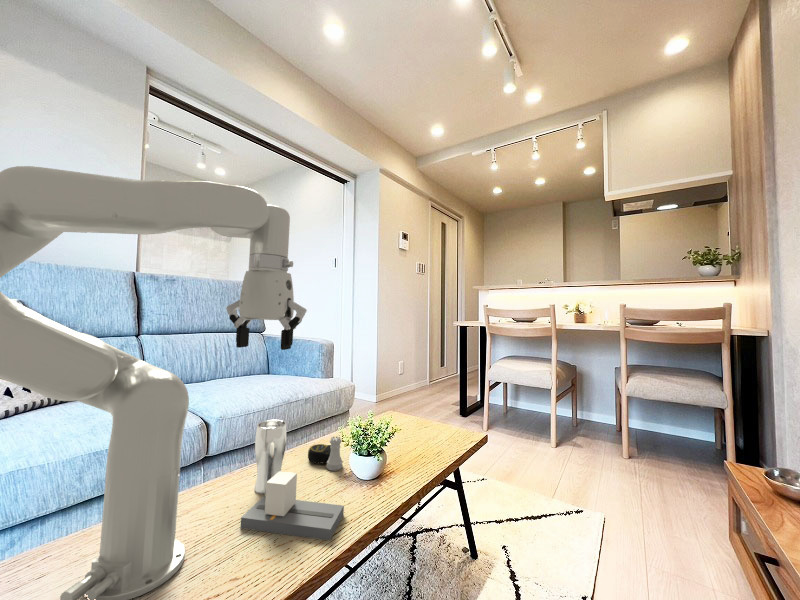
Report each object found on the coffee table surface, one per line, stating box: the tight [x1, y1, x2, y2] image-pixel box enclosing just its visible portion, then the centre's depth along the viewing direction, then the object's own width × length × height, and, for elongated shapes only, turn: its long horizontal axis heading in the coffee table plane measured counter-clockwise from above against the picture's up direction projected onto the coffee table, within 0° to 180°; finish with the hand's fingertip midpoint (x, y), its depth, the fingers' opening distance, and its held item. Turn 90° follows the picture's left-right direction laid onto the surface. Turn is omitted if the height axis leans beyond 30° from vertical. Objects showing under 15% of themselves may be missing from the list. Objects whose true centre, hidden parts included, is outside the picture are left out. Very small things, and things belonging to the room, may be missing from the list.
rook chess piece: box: [325, 435, 344, 472], centre depth 92 cm, size 4×4×8 cm
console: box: [240, 495, 345, 541], centre depth 67 cm, size 8×18×2 cm, turn 82°
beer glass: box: [254, 419, 287, 495], centre depth 80 cm, size 7×7×15 cm
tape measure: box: [307, 443, 331, 464], centre depth 96 cm, size 7×7×4 cm
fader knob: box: [265, 470, 298, 516], centre depth 68 cm, size 5×4×6 cm
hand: (263, 348), depth 69 cm, fingers open, 9 cm apart
